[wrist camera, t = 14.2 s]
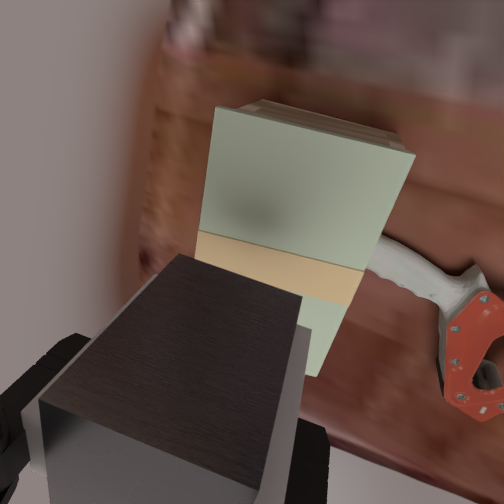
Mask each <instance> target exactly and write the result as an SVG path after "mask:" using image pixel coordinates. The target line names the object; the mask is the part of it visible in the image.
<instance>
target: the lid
mask: <svg viewBox="0 0 504 504" xmlns="http://www.w3.org/2000/svg"><path fill="white" fill-rule="evenodd" d="M415 157H416V155H415V154H414V153H413V152H412V151H408V150H403V149H399V148H395V147H391V146H387V145H383V144H379V143H374V142H370V141H366V140H362V139H358V138H354V137H349V136H345V135H341V134H337V133H333V132H329V131H324V130H320V129H316V128H312V127H308V126H304V125H299V124H295V123H291V122H287V121H283V120H279V119H274V118H270V117H266V116H262V115H258V114H254V113H249V112H245V111H241V110H237V109H233V108H229V107H224V106H220V105H218V106H216V107H215V114H214V121H213V128H212V136H211V143H210V151H209V158H208V166H207V173H206V180H205V188H204V195H203V203H202V210H201V218H200V225H199V230H198V236H197V244H196V251H195V259H197V260H200V261H203V262H205V263H208V264H211V265H214V266H217V267H220V268H223V269H225V270H228V271H231V272H234V273H237V274H240V275H243V276H245V277H248V278H251V279H254V280H257V281H260V282H263V283H266V284H268V285H271V286H274V287H277V288H280V289H283V290H286V291H288V292H291V293H294V294H297V295H300V296H303V298H302V302H301V307H300V311H299V316H298V320H297V324H298V325H301V326H304V327H307V328H309V329H312V333H311V339H310V346H309V352H308V358H307V364H306V370H305V374H306V375H310V376H314V377H317V375H318V373H319V370H320V368H321V366H322V364H323V362H324V359H325V357H326V355H327V353H328V350H329V348H330V346H331V344H332V342H333V339H334V337H335V335H336V333H337V330H338V328H339V326H340V324H341V321H342V319H343V317H344V315H345V313H346V310H347V308H348V306H349V305H350V303H351V301H352V299H353V297H354V294H355V292H356V290H357V288H358V285H359V283H360V281H361V279H362V277H363V274H364V270H365V268H366V266H367V264H368V261H369V259H370V257H371V255H372V252H373V250H374V248H375V246H376V244H377V241H378V239H379V237H380V235H381V232H382V230H383V228H384V226H385V223H386V221H387V219H388V217H389V215H390V212H391V210H392V208H393V206H394V203H395V201H396V199H397V197H398V194H399V192H400V190H401V188H402V186H403V183H404V181H405V179H406V177H407V174H408V172H409V170H410V168H411V166H412V163H413V161H414V159H415Z"/></svg>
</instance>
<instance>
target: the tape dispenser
mask: <svg viewBox="0 0 504 504" xmlns="http://www.w3.org/2000/svg"><path fill="white" fill-rule="evenodd" d="M366 269H369V270H371V271H373V272H375V273H376V274H377V275H378V276H379V277H381V278H386V279H389V280H392V281H394V282H395V283H396V284H397V285H398V286H400V287H404V288H407V289H409V290H411V291H412V292H413V293H414V294H415V295H416V296H418V297H423V298H426V299H429V300H431V301H433V302H434V303H436V304H437V305H438V306H439V325H438V331H439V335H440V338H439V356H438V358H437V360H436V365H437V371H438V377H439V382H440V388H441V392H442V396H443V397H444V399H445V400H446V401H447V402H448V403H449V404H451V405H452V406H454V407H456V408H458V409H460V410H462V411H463V412H465V413H466V414H468V415H469V416H471V417H473V418H474V419H476V420H478V421H480V422H484V421H486V420H488V419H490V418H492V417H494V416H496V415H497V414H499V413H504V385H503V382H502V379H501V377H500V374H499V371H498V368H497V366H496V364H495V363H493V362H491V361H488V360H486V359H483V358H484V356H485V354H486V352H487V350H488V348H489V346H490V345H491V343H492V342H493V341H494V340H495V339H496V338H498V337H500V336H503V335H504V301H503V300H502V299H500V298H499V297H498V296H497V295H495V294H494V293H492V292H491V290H490V288H489V286H488V284H487V282H486V279H485V276H484V274H483V273H482V271H481V269H480V268H479V266H478V264H475V265H473V266H472V267H471V268H469V269H467V270H466V271H465V272H464V273H463V274H462V275H461V276H450V275H447V274H446V273H444V272H443V271H442V270H440V269H439V268H438V267H436V266H435V265H433V264H432V263H431V262H429V261H428V260H426V259H425V258H423V257H422V256H421V255H419V254H417V253H416V252H414V251H413V250H411V249H409V248H408V247H406V246H404V245H402V244H400V243H399V242H397V241H395V240H392V239H390V238H388V237H386V236H384V235H382V234H381V235H380V237H379V239H378V241H377V244H376V246H375V248H374V250H373V252H372V255H371V257H370V259H369V261H368V264H367V266H366Z"/></svg>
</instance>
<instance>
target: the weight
mask: <svg viewBox="0 0 504 504" xmlns="http://www.w3.org/2000/svg"><path fill="white" fill-rule="evenodd" d="M302 298H303V296H300V295H297V294H294V293H291V292H288V291H286V290H283V289H280V288H277V287H274V286H271V285H268V284H266V283H263V282H260V281H257V280H254V279H251V278H248V277H245V276H243V275H240V274H237V273H234V272H231V271H228V270H225V269H223V268H220V267H217V266H214V265H211V264H208V263H205V262H203V261H200V260H197V259H194V258H191V257H188V256H185V255H182V254H180V253H179V254H178V255H177V256H176V257H175V258H174V259H173V260H172V261H171V262H170V263H169V264H168V265H167V266H166V267H165V268H164V269H163V270H162V271H161V272H160V273H159V274H158V275H157V276H156V277H155V278H154V280H153V281H152V282H151V283H150V284H149V285H148V286H147V287H146V288H145V289H144V290H143V291H142V292H141V293H140V294H139V295H138V296H137V297H136V298H135V299H134V300H133V301H132V302H131V303H130V304H129V305H128V306H127V307H126V308H125V309H124V311H123V312H122V313H121V314H120V315H119V316H118V317H117V318H116V319H115V320H114V321H113V322H112V323H111V324H110V325H109V326H108V327H107V328H106V329H105V330H104V331H103V332H102V333H101V334H100V335H99V336H98V337H97V338H96V339H95V340H94V342H93V343H92V344H91V345H90V346H89V347H88V348H87V349H86V350H85V351H84V352H83V353H82V354H81V355H80V356H79V357H78V358H77V359H76V360H75V361H74V362H73V363H72V364H71V365H70V366H69V367H68V368H67V369H66V370H65V371H64V373H63V374H62V375H61V376H60V377H59V378H58V379H57V380H56V381H55V382H54V383H53V384H52V385H51V386H50V387H49V388H48V389H47V390H46V391H45V392H44V393H43V394H42V395H41V396H40V397H39V398H38V404H39V412H40V421H41V429H42V438H43V446H44V455H45V463H46V472H47V480H48V489H49V496H50V504H253V503H254V501H255V499H256V497H257V495H258V493H259V490H260V485H261V481H262V477H263V472H264V468H265V463H266V459H267V454H268V450H269V445H270V441H271V436H272V432H273V427H274V423H275V418H276V414H277V410H278V405H279V401H280V396H281V392H282V387H283V383H284V378H285V374H286V369H287V365H288V360H289V356H290V351H291V347H292V343H293V338H294V334H295V329H296V325H297V320H298V316H299V311H300V307H301V302H302Z"/></svg>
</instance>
